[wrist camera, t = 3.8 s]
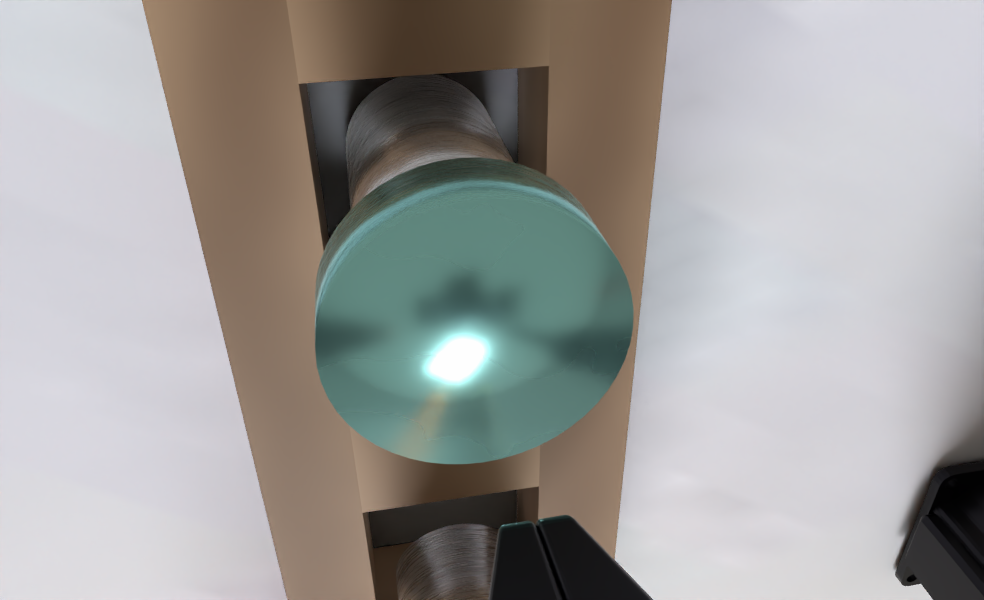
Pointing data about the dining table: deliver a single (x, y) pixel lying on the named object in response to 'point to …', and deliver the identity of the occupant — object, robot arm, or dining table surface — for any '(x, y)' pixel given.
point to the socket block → (304, 235)
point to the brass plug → (448, 564)
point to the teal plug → (461, 287)
